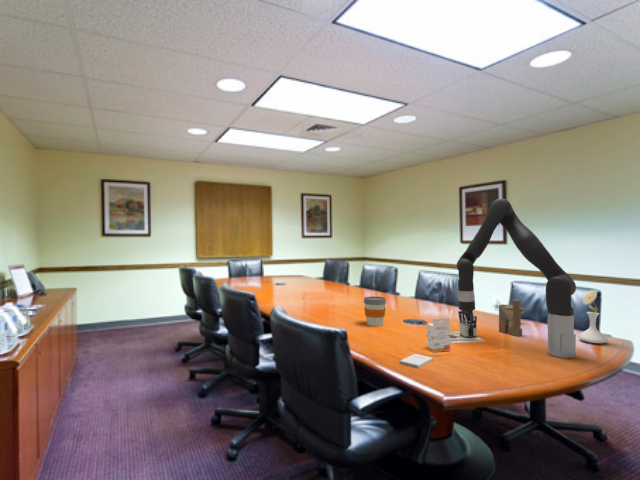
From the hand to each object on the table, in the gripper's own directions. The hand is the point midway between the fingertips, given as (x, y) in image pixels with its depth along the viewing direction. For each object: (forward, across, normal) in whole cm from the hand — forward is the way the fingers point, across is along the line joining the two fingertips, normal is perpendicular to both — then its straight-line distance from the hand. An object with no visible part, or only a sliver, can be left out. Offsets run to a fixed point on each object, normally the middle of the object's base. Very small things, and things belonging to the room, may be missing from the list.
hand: (468, 334), depth 178 cm
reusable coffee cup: (+1, +36, +37) cm, 52 cm away
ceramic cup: (+5, +29, -42) cm, 51 cm away
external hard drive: (+1, -28, +37) cm, 46 cm away
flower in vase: (+6, -11, -56) cm, 57 cm away
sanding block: (+1, 0, 0) cm, 1 cm away
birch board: (+2, 0, +7) cm, 7 cm away
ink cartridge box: (+2, -15, +22) cm, 27 cm away
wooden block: (+4, +8, -27) cm, 28 cm away
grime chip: (0, 0, +9) cm, 9 cm away
